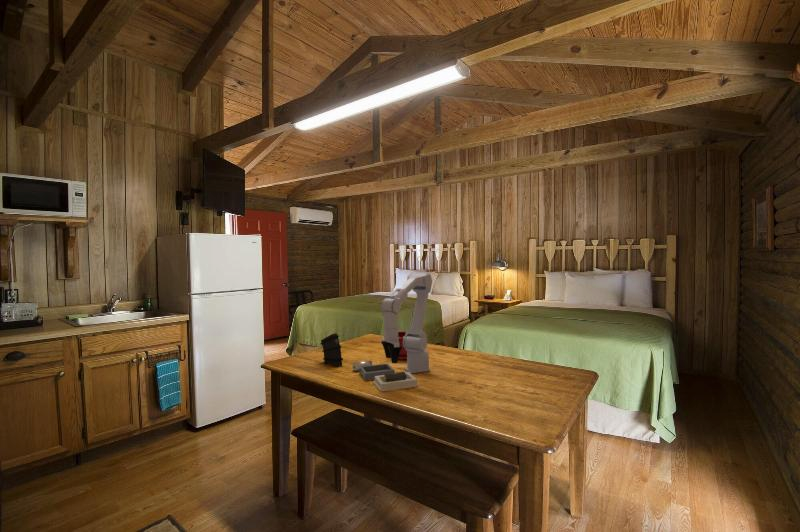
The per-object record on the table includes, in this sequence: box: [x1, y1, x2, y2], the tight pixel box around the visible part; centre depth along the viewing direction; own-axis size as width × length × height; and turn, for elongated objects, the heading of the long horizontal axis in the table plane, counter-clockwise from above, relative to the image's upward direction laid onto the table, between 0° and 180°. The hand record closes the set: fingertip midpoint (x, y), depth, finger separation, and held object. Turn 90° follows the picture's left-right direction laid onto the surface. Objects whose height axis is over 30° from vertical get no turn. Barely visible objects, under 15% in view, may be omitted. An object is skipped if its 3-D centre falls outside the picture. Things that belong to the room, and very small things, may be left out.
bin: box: [359, 363, 396, 381], centre depth 168 cm, size 13×10×3 cm
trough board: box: [372, 371, 419, 392], centre depth 156 cm, size 16×10×3 cm, turn 109°
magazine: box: [319, 332, 344, 368], centre depth 185 cm, size 4×13×15 cm, turn 45°
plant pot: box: [398, 330, 416, 361], centre depth 194 cm, size 13×13×12 cm
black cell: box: [384, 371, 406, 382], centre depth 156 cm, size 9×4×4 cm, turn 109°
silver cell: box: [352, 360, 373, 372], centre depth 176 cm, size 9×4×4 cm
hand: (391, 360), depth 158 cm, fingers open, 7 cm apart
